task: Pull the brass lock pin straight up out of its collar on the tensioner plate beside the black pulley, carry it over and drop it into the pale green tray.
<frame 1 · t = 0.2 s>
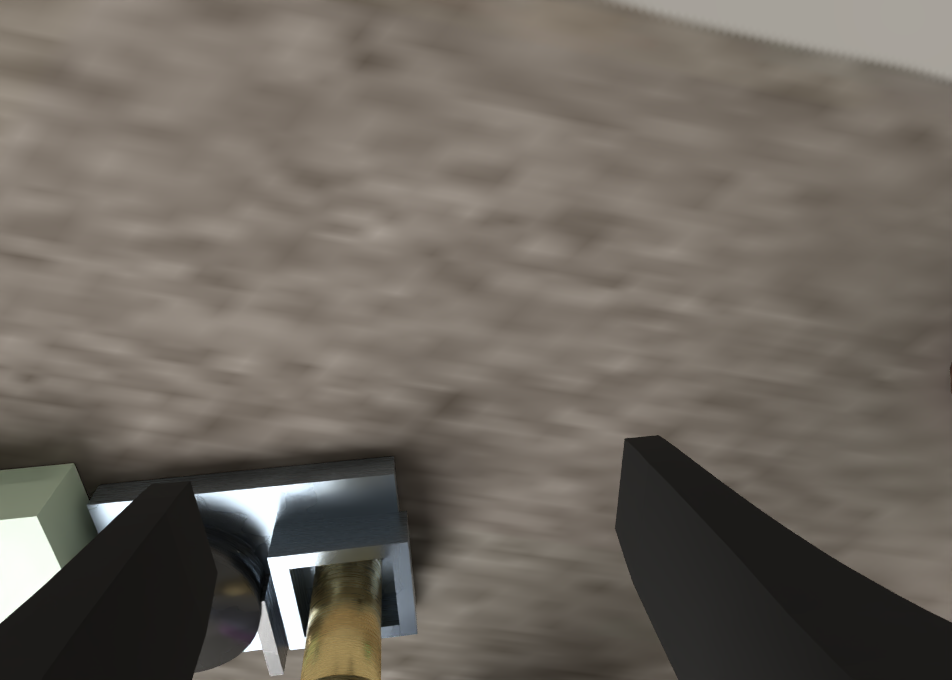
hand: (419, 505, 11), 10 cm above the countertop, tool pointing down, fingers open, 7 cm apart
lock pin: (349, 564, 23), point 1 cm above the countertop, touching tensioner
tensioner: (270, 553, 24), on the countertop
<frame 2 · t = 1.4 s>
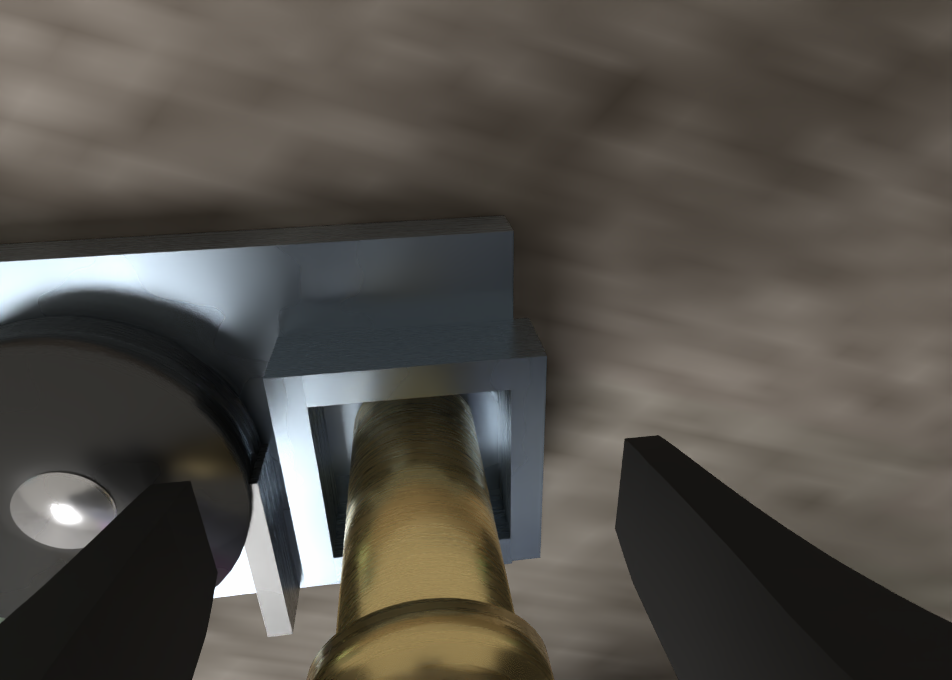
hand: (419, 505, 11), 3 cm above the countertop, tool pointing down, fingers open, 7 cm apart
lock pin: (414, 430, 12), point 1 cm above the countertop, touching tensioner
tensioner: (269, 415, 13), on the countertop
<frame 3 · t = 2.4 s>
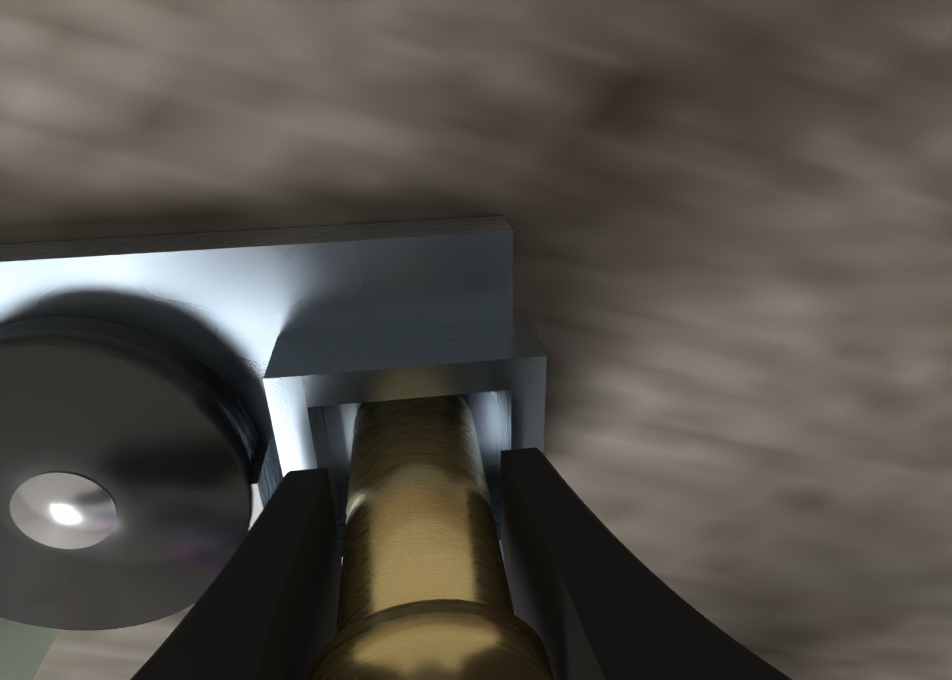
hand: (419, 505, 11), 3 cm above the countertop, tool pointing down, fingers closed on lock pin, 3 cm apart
lock pin: (414, 430, 12), point 1 cm above the countertop, touching gripper, tensioner
tensioner: (269, 415, 13), on the countertop
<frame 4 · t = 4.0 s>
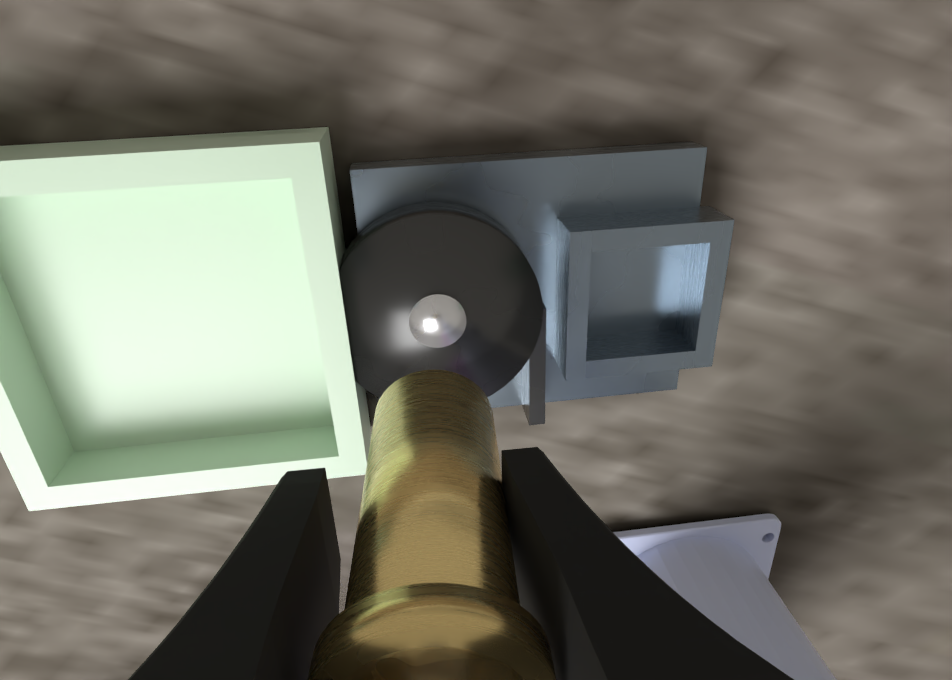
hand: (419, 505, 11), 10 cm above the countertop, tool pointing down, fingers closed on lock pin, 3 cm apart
lock pin: (434, 420, 13), point 8 cm above the countertop, touching gripper
tensioner: (526, 280, 20), on the countertop
tray: (185, 309, 19), on the countertop
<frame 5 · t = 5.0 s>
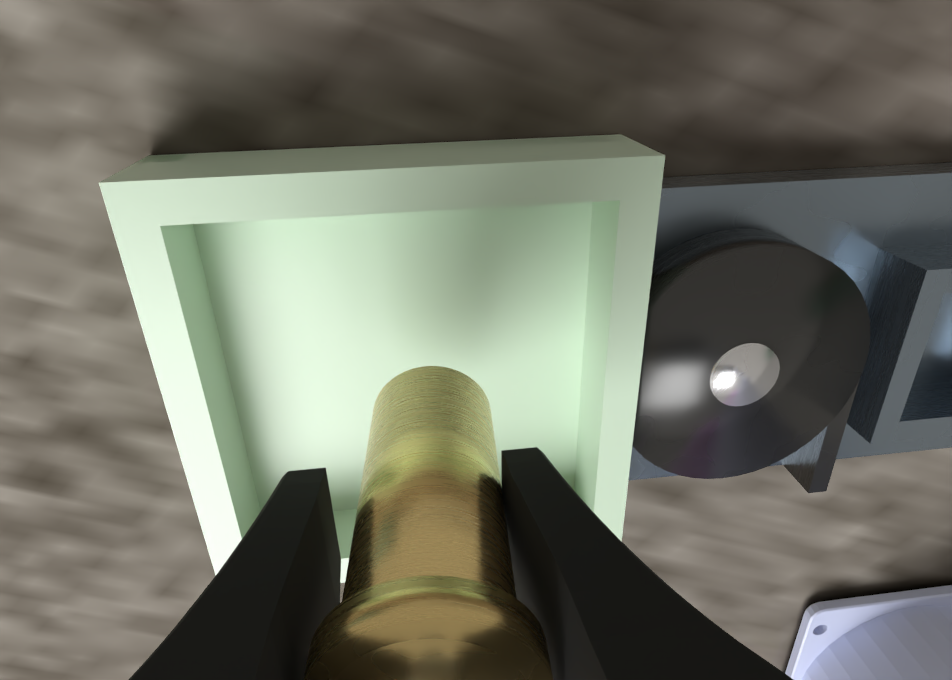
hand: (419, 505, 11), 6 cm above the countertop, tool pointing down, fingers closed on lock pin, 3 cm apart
lock pin: (432, 417, 13), point 3 cm above the countertop, touching gripper
tensioner: (804, 320, 17), on the countertop
tray: (410, 351, 16), on the countertop
when the fingers open (5 cm above the countertop, at t = 5.9 s): lock pin drops 1 cm, resting on tray.
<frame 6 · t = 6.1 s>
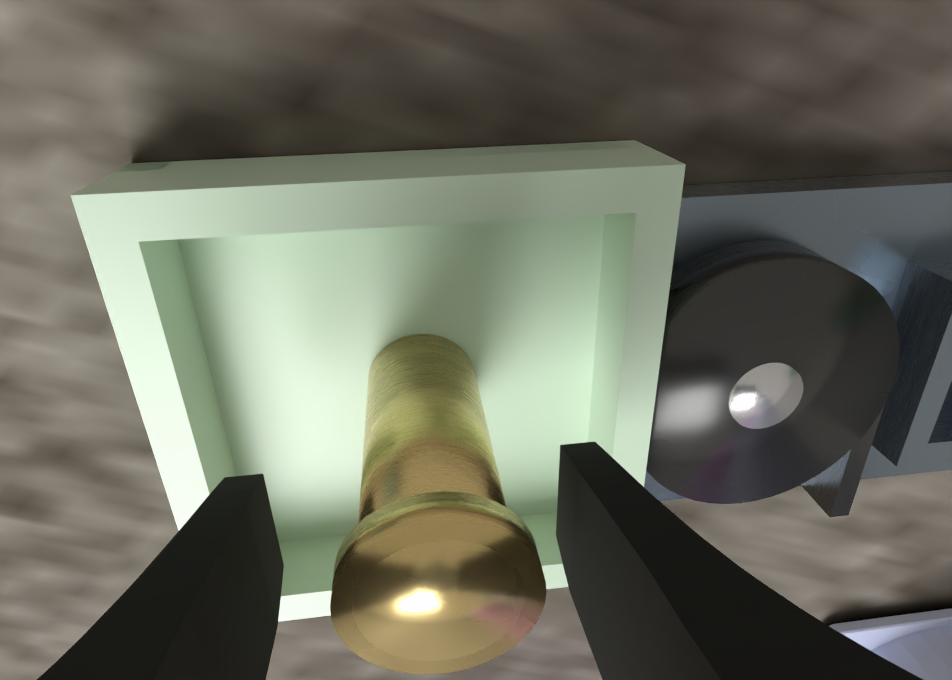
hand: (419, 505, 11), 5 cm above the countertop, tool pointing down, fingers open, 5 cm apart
lock pin: (422, 381, 14), point 1 cm above the countertop, touching tray
tensioner: (825, 334, 16), on the countertop
tray: (410, 368, 15), on the countertop
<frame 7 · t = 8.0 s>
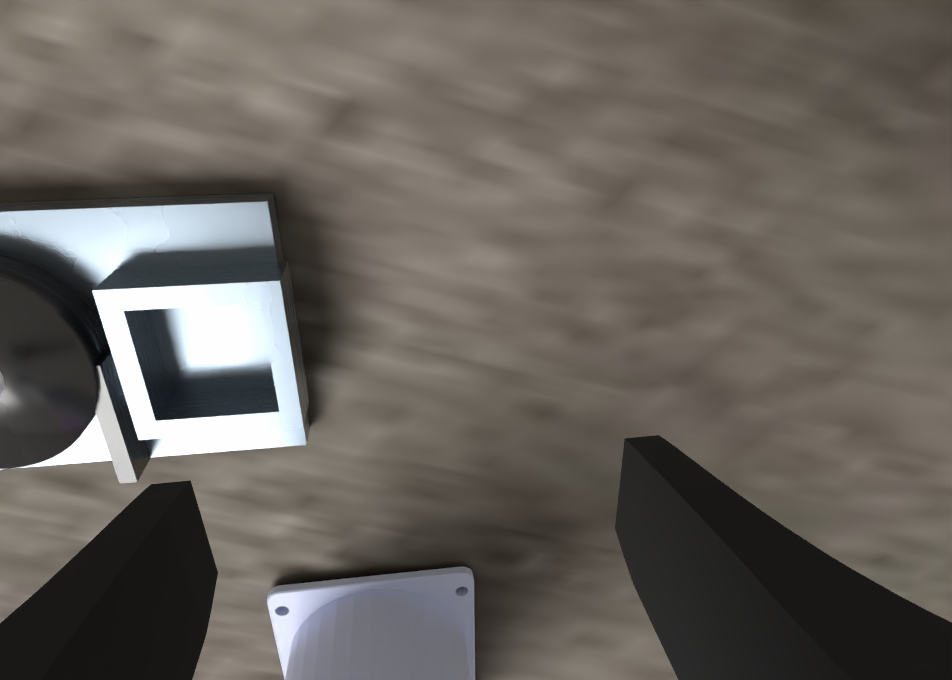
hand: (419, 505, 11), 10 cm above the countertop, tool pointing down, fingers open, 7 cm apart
tensioner: (124, 330, 19), on the countertop
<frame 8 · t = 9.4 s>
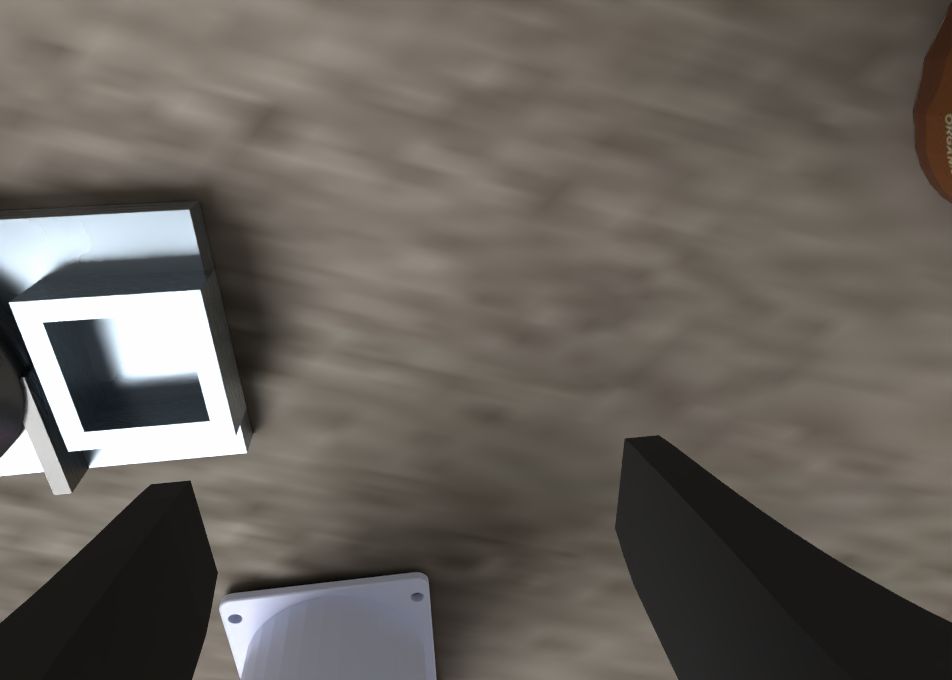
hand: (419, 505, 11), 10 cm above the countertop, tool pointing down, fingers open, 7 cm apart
tensioner: (56, 341, 19), on the countertop
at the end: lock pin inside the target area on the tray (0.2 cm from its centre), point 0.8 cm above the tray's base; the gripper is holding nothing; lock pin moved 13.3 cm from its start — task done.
